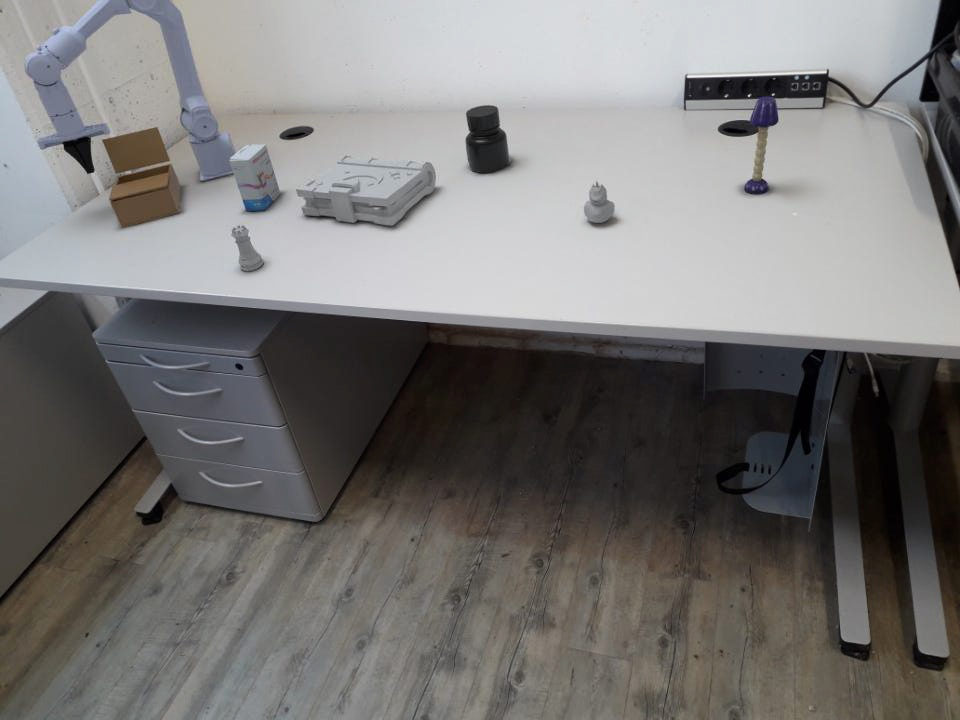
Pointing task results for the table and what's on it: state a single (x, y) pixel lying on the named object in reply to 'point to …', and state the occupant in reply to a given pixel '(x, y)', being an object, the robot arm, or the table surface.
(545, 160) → the table surface
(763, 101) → the toy lamp
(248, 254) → the rook chess piece
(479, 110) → the ink bottle
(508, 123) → the table surface
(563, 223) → the table surface
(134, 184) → the bin
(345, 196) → the book
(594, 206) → the rubber duck
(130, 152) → the flap
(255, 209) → the ink box
